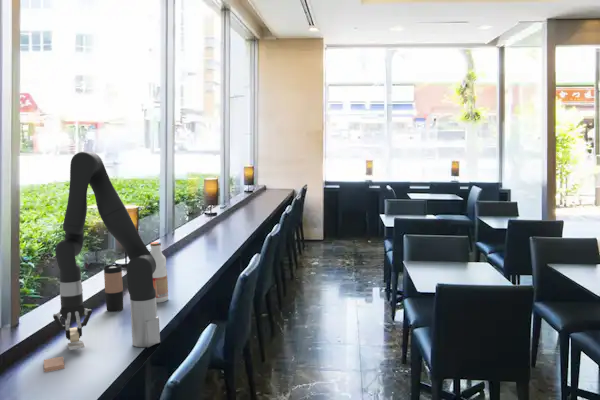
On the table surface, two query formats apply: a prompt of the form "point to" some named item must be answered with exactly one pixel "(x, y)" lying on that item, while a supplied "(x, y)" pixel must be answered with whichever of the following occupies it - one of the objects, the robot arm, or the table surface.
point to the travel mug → (113, 288)
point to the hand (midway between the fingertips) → (74, 338)
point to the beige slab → (75, 339)
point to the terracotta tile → (53, 364)
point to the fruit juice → (159, 273)
